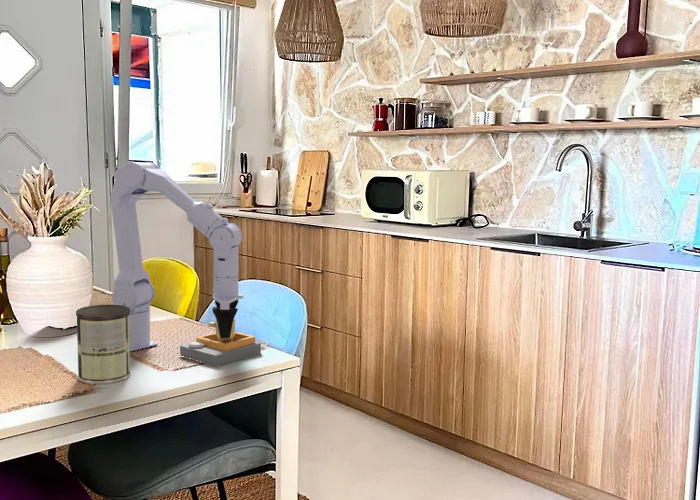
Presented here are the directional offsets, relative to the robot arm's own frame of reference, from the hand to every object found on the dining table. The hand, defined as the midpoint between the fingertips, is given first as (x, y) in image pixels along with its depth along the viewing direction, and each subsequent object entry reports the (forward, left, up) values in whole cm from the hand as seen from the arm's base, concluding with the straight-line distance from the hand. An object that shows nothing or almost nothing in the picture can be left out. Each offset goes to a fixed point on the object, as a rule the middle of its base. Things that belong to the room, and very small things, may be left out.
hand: (225, 333), depth 155 cm
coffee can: (-28, +6, -5) cm, 29 cm away
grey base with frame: (-1, 0, -5) cm, 5 cm away
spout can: (0, 0, -5) cm, 5 cm away
